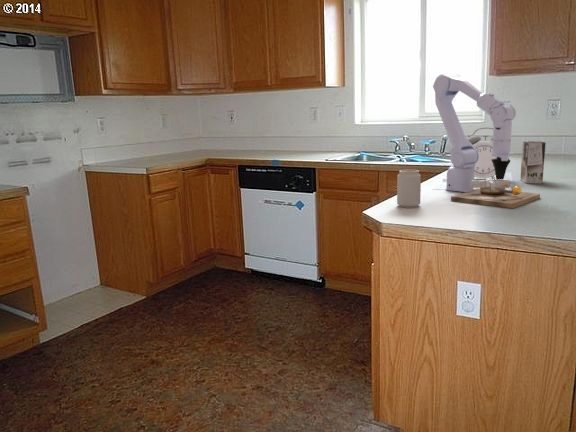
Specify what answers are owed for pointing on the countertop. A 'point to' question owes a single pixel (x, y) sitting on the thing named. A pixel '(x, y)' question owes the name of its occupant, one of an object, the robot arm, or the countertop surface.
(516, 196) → the lever board
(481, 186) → the capstan
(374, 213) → the countertop surface
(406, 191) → the can
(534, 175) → the coffee box
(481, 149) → the alarm clock
